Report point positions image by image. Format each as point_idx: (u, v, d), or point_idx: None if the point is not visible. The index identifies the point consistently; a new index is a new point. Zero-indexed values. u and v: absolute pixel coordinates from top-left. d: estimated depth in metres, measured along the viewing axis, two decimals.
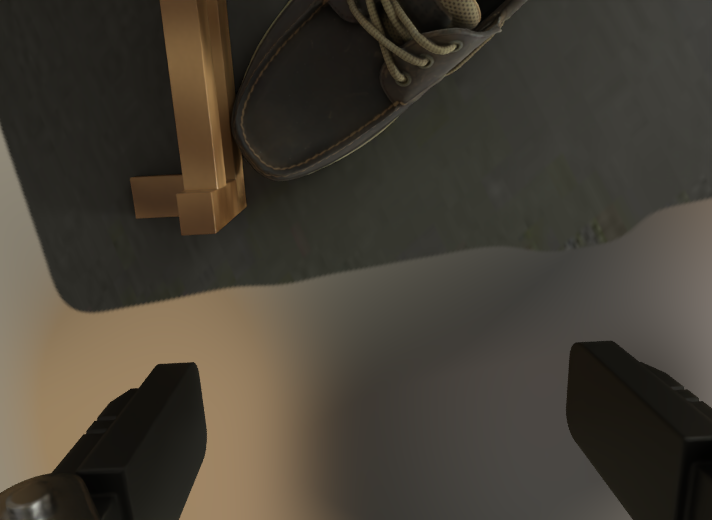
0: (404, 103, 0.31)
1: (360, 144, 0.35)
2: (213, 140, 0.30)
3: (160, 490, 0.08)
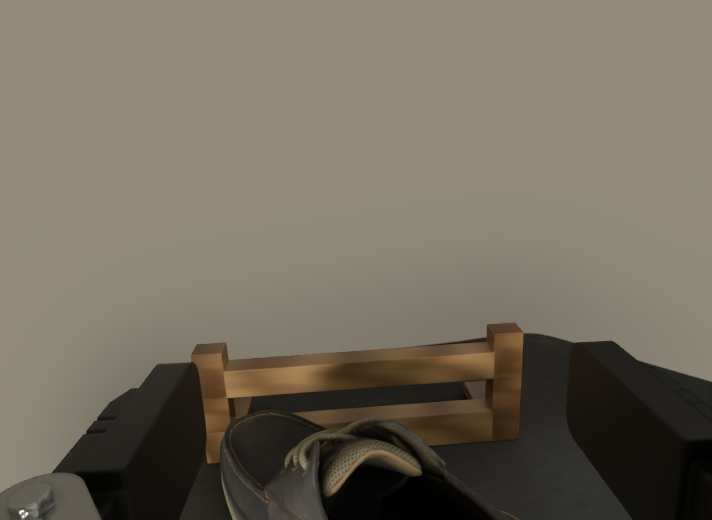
0: (265, 488, 0.31)
1: (238, 508, 0.34)
2: (259, 372, 0.41)
3: (160, 490, 0.08)
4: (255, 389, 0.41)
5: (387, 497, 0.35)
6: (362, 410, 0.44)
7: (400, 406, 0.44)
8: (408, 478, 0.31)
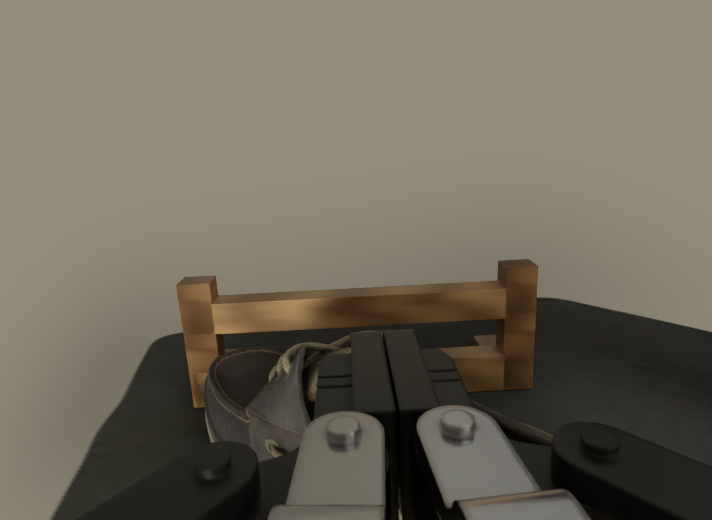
0: (247, 406, 0.27)
1: (220, 438, 0.31)
2: (250, 305, 0.38)
3: None
4: (245, 325, 0.38)
5: None
6: None
7: None
8: None
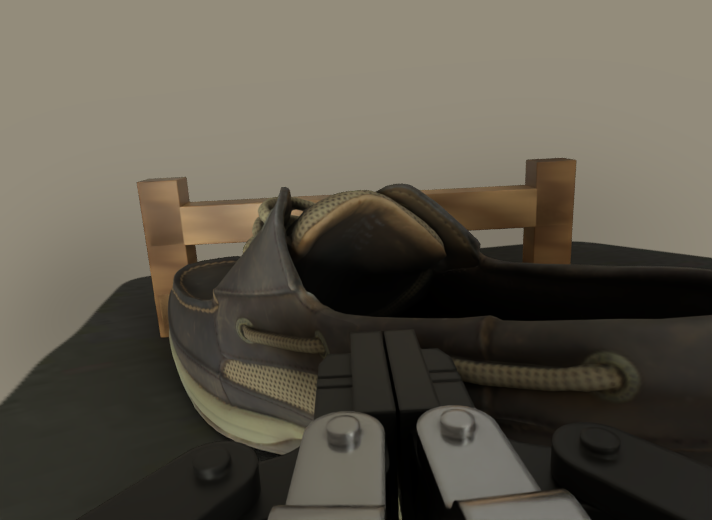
0: (214, 289, 0.21)
1: (183, 347, 0.24)
2: (226, 208, 0.31)
3: None
4: (221, 233, 0.32)
5: None
6: None
7: None
8: (424, 281, 0.21)
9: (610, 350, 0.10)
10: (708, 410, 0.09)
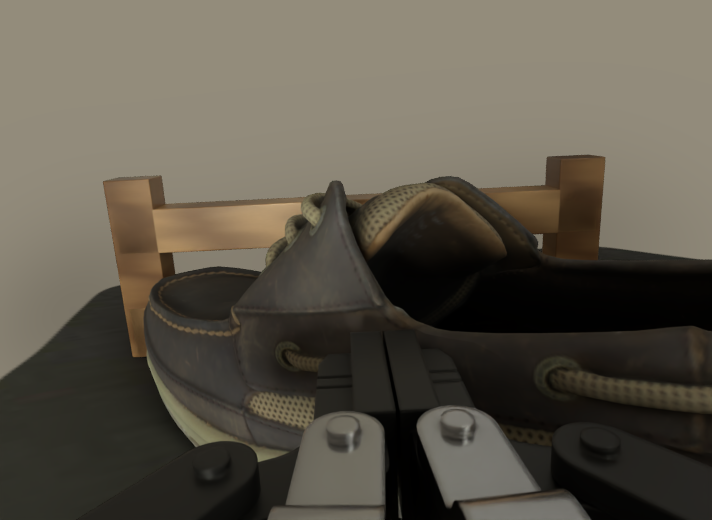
0: (233, 307, 0.17)
1: (179, 379, 0.20)
2: (206, 211, 0.27)
3: None
4: (200, 240, 0.28)
5: None
6: None
7: None
8: (471, 285, 0.19)
9: None
10: None
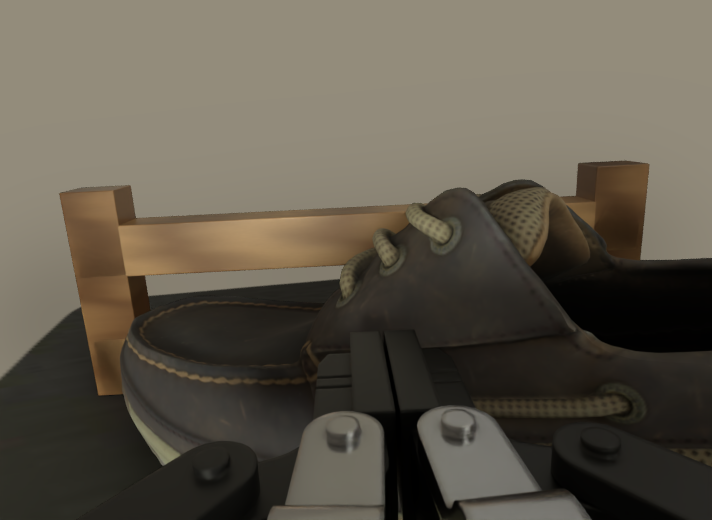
0: (310, 348, 0.14)
1: None
2: (181, 228, 0.23)
3: None
4: (175, 261, 0.24)
5: None
6: None
7: None
8: None
9: None
10: None
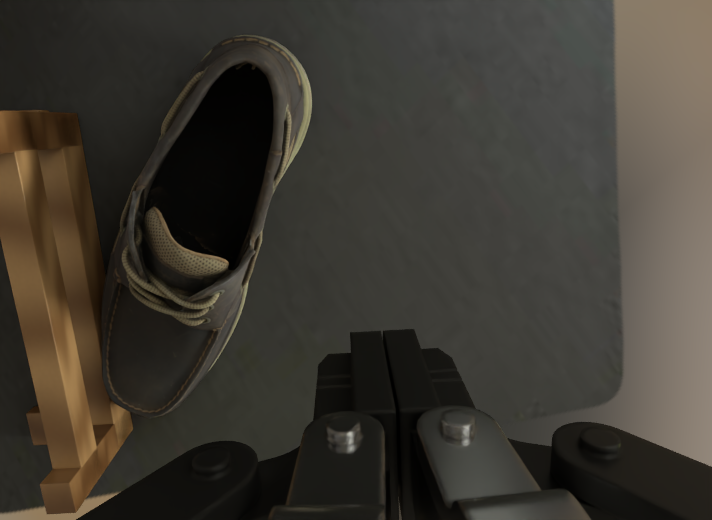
0: (220, 327, 0.36)
1: (219, 351, 0.40)
2: (75, 430, 0.36)
3: None
4: (87, 424, 0.37)
5: None
6: (69, 296, 0.38)
7: (59, 253, 0.38)
8: None
9: (285, 111, 0.30)
10: (285, 84, 0.31)
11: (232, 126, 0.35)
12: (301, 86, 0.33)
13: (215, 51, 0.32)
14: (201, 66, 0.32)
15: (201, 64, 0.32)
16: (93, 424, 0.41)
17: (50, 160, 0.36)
